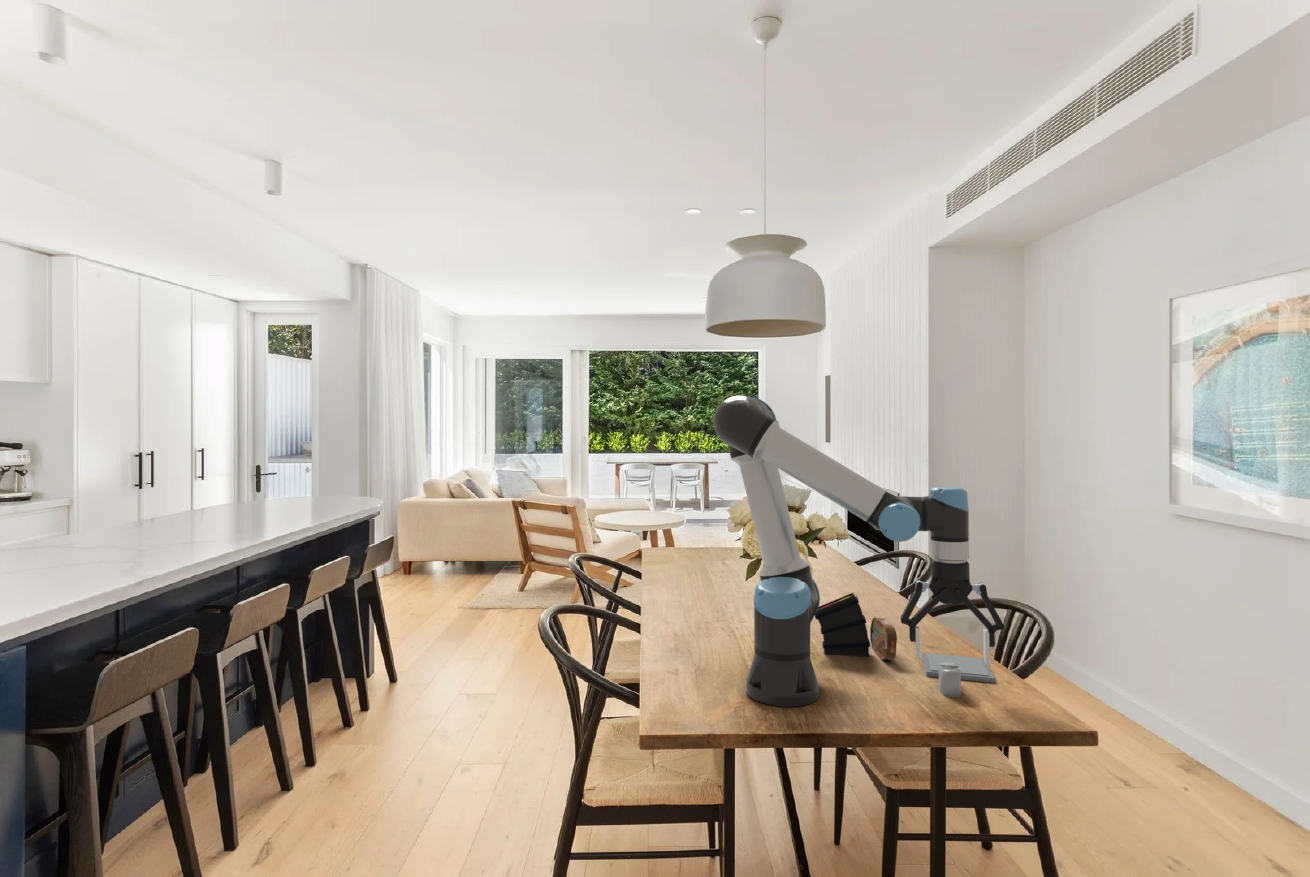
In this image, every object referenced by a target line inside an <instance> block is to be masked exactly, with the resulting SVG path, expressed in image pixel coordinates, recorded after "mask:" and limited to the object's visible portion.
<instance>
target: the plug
mask: <svg viewBox="0 0 1310 877" xmlns="http://www.w3.org/2000/svg"><path fill="white" fill-rule="evenodd" d="M961 681H962V680H961V670H960V668H959V666H958V665H957V664H954V663H948V662H942V663H939V677H938V690H939V693H940V694H941V693H942V694H943V695H942V694H941V695H942V696H944V695H946V696H945V697H949V698H959V697H961V694H962V693H961V692H962V690H961V688H962V687H961V686H962V684H961V683H962V682H961Z"/></svg>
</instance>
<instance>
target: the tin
mask: <svg viewBox="0 0 1310 877" xmlns="http://www.w3.org/2000/svg"><path fill="white" fill-rule="evenodd" d="M869 631H870V634H869V636H870V647H871V648H872V650H873V651H874V653H875V654H876V655H877V656H878V657H879V659H880V660H883V661H884V660H885V661H886V660H887V661H888V660H889V661H893V660H895V658H896V656H897V642H898V636H897V630H896V628H895V627H894V625H892V624H891V623H890V622H889V621H888V620H886V618H882V617H873V618H872V620H871V623H870V630H869Z"/></svg>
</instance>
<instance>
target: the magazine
mask: <svg viewBox="0 0 1310 877" xmlns="http://www.w3.org/2000/svg"><path fill="white" fill-rule="evenodd" d="M814 619H815V620H817V621H818V623H819V624H820V635H822V637H823V640H822V643H821V644H822V649H823V653H824V654H825V655H839V656H851V655H852V656H855V657H869V656H870V653H869V652H870V650H869V649H870V647H871V640H870V639H869V635H868V633H869V632H868V630H867V619H866V616H865V614H863V610H862V608H861V605H860V601H859V599H858V596H857V595H856V596H855V593H854V592H851V593H849V594H846V595H844V596H841V597H839V598H837V599H834V600H832V601H829V602H827V603H824V604H822V605H819V607H818V610H817V612H816V614H815V616H814Z"/></svg>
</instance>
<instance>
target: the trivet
mask: <svg viewBox="0 0 1310 877" xmlns="http://www.w3.org/2000/svg"><path fill="white" fill-rule="evenodd" d="M921 659H922V662H923V668H924V671H925V676H926V677H930V678H932V677H933V678H939V663H942V662H948V663H954V664H957V665H958V666H959V668H960V670H961V681H962V680H963V681H974V682H984V683H991V684H992V683H994V684H995V681H996V680H995V676H994V674H993V673H992V670H991V668H990V666H989V664H986V663H985V661H984V657H976V656H975V657H973V656H963V655H952V654H951V655H950V654H940V653H928V652H927V653H926V652H921Z"/></svg>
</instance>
